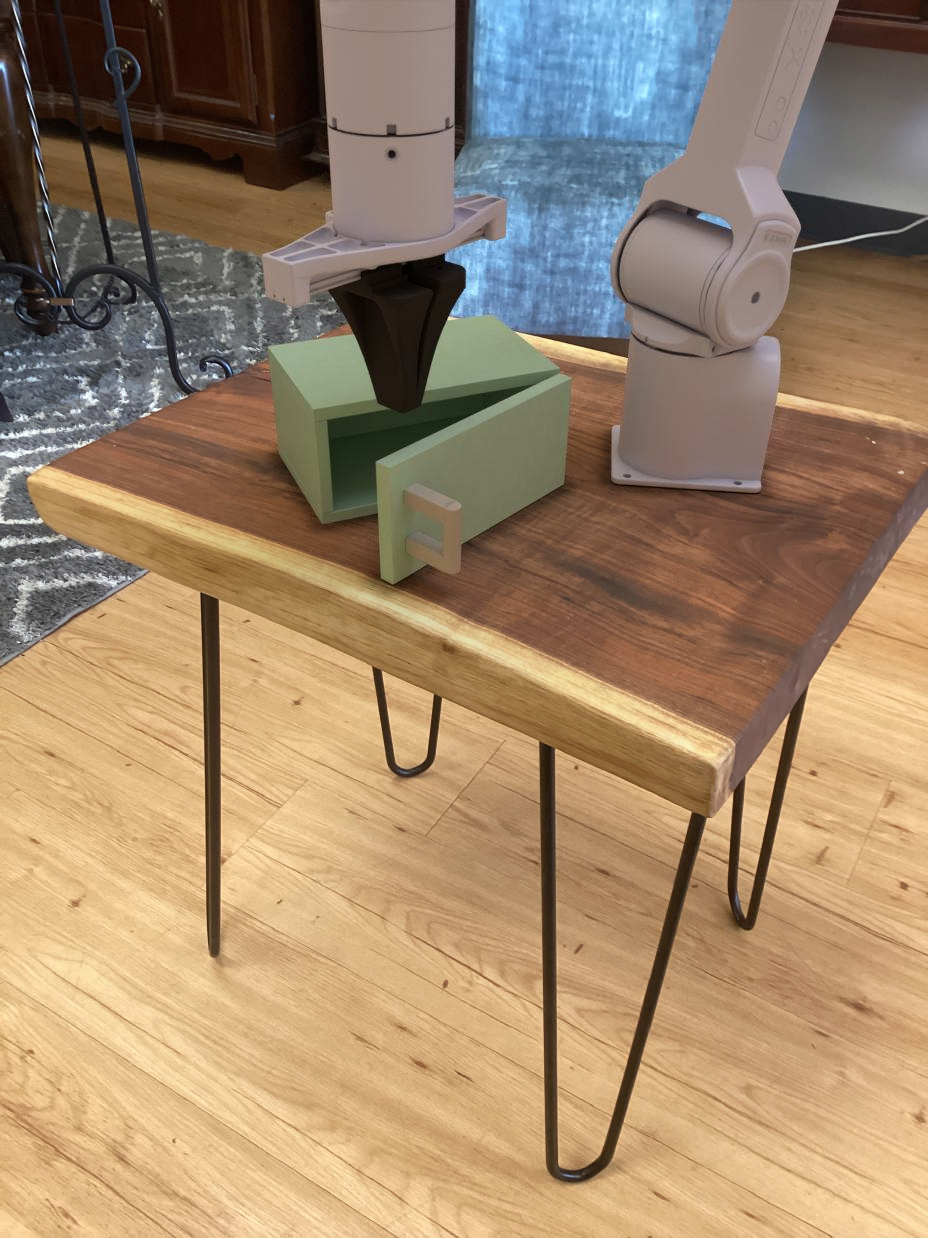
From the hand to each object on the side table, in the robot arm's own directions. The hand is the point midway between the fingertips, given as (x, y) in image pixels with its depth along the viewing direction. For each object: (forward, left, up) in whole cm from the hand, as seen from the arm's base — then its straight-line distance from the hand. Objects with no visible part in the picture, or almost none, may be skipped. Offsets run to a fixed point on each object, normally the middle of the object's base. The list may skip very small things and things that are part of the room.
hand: (399, 404), depth 55 cm
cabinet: (+1, -11, -9) cm, 14 cm away
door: (-5, -2, -9) cm, 11 cm away
